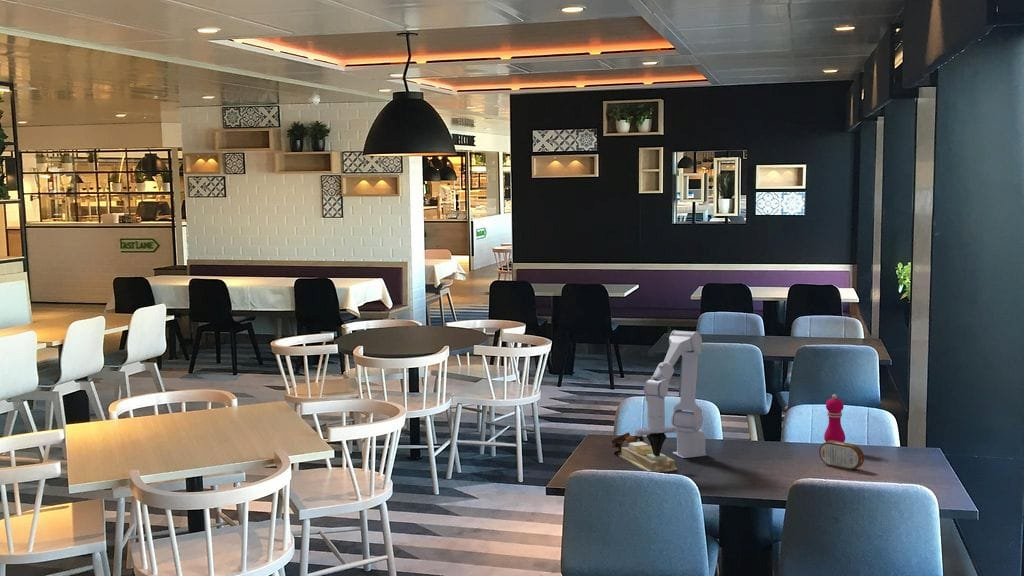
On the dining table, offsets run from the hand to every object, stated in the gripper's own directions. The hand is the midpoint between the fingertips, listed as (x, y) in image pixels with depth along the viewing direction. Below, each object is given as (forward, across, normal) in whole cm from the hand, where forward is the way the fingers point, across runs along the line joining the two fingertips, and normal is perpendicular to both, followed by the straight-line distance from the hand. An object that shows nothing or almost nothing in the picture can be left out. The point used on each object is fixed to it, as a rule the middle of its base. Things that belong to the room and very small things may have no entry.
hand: (656, 455), depth 334 cm
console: (+4, 0, +7) cm, 8 cm away
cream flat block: (+1, 0, +7) cm, 7 cm away
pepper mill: (+4, +69, -2) cm, 69 cm away
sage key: (+2, 0, 0) cm, 2 cm away
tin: (+5, +56, -23) cm, 61 cm away
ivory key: (+2, 0, +14) cm, 14 cm away
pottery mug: (+5, +1, +24) cm, 25 cm away
